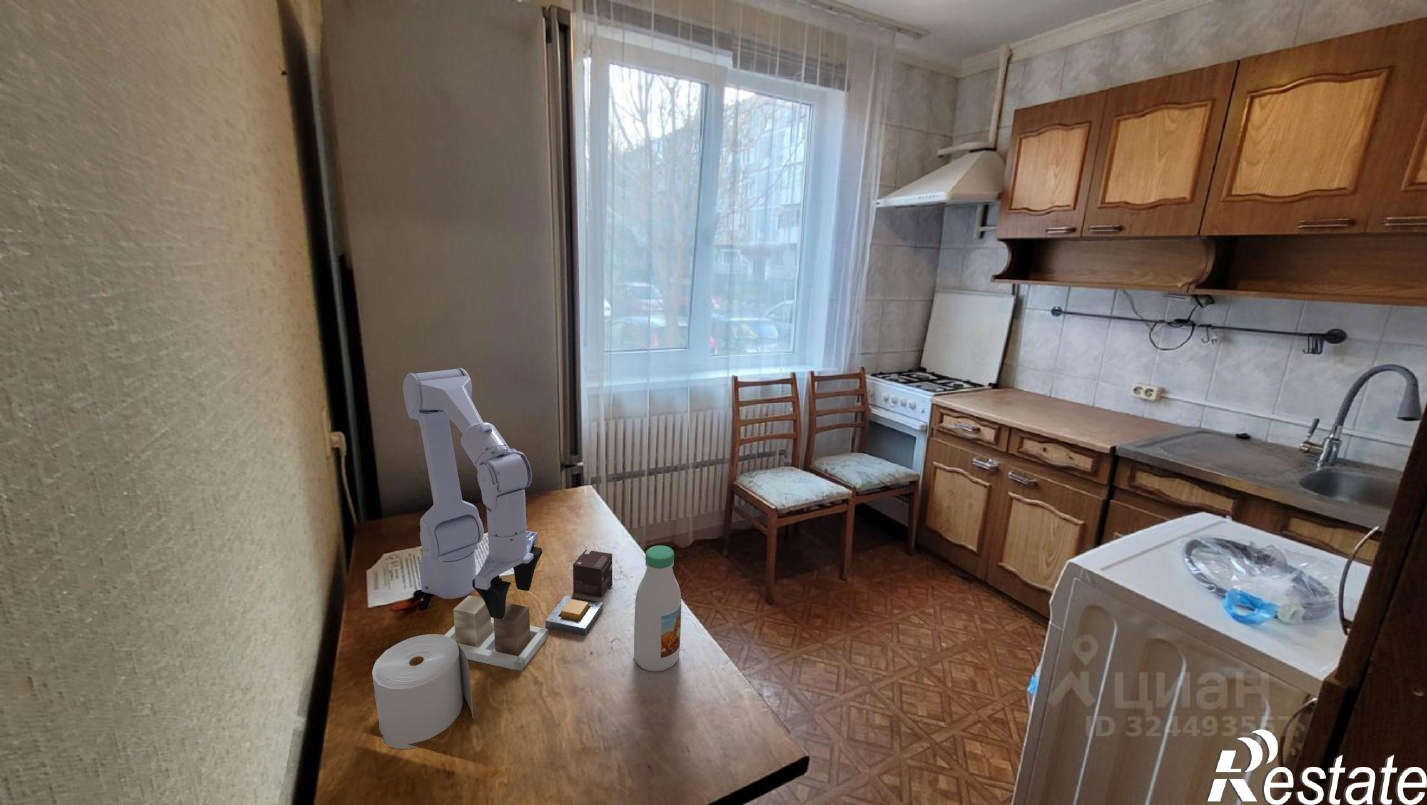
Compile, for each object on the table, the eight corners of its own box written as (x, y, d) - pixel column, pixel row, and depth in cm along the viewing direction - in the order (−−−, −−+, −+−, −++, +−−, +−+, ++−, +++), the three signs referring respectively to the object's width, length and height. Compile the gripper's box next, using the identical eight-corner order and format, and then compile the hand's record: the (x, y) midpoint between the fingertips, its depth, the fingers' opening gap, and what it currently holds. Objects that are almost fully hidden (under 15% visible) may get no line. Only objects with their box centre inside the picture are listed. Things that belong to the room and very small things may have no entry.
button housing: (545, 632, 97) (545, 620, 96) (565, 606, 104) (565, 595, 103) (585, 640, 95) (585, 628, 95) (602, 614, 103) (602, 602, 102)
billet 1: (456, 645, 91) (453, 609, 89) (471, 630, 95) (468, 595, 93) (477, 650, 90) (474, 613, 89) (491, 634, 94) (489, 599, 92)
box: (601, 602, 106) (601, 569, 104) (572, 597, 107) (571, 564, 105) (613, 585, 112) (613, 553, 110) (585, 580, 113) (585, 548, 111)
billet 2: (495, 654, 90) (493, 617, 88) (509, 638, 94) (507, 602, 92) (517, 659, 89) (515, 622, 87) (530, 642, 93) (529, 607, 91)
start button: (561, 625, 98) (560, 610, 98) (570, 612, 102) (570, 598, 101) (579, 628, 98) (579, 614, 97) (588, 616, 101) (588, 602, 100)
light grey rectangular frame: (436, 656, 90) (434, 644, 89) (468, 624, 98) (467, 612, 97) (521, 676, 87) (521, 663, 86) (548, 641, 95) (547, 629, 94)
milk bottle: (643, 678, 88) (645, 569, 82) (627, 648, 94) (629, 544, 89) (686, 664, 91) (691, 558, 86) (668, 636, 98) (672, 536, 93)
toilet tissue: (385, 700, 81) (377, 643, 78) (473, 679, 86) (468, 624, 83) (374, 760, 72) (365, 698, 69) (474, 733, 76) (469, 673, 74)
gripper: (503, 555, 79) (507, 635, 82) (553, 511, 92) (554, 582, 96) (460, 547, 80) (466, 626, 84) (515, 505, 94) (518, 575, 97)
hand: (510, 602), depth 90 cm, fingers open, 7 cm apart
